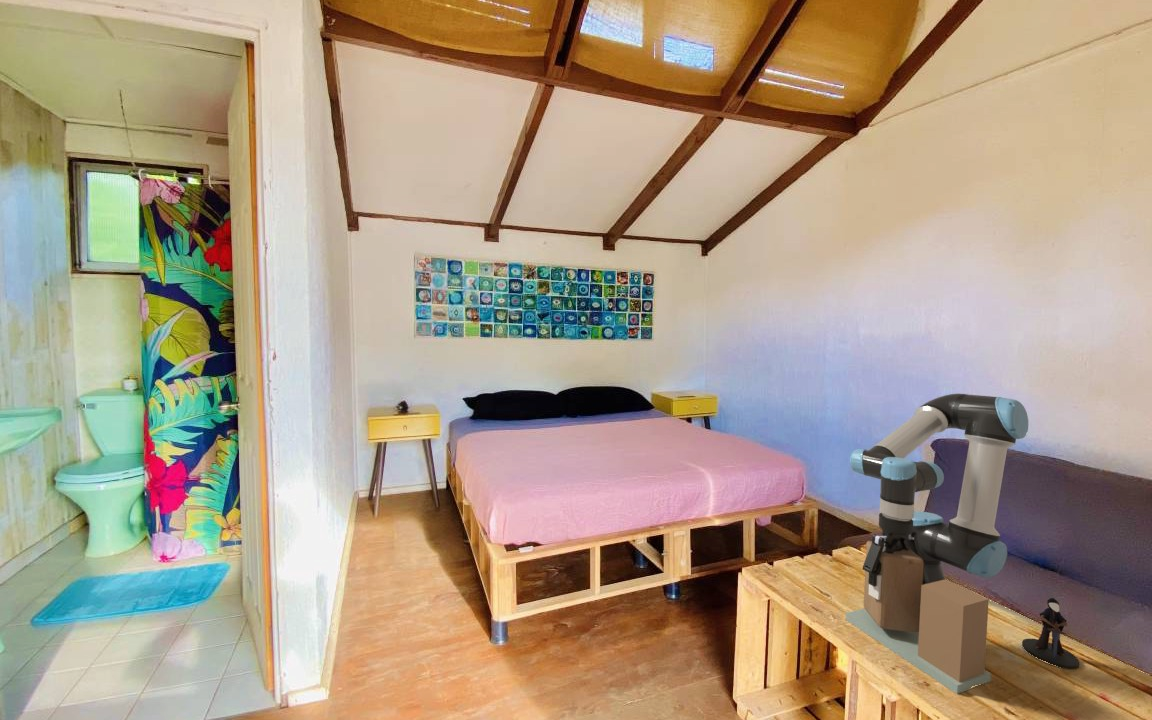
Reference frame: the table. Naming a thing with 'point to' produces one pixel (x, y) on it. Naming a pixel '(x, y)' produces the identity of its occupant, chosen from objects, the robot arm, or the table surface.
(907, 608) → the wooden block
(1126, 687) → the table surface
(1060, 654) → the figurine
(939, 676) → the brown block teal base
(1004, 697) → the table surface
